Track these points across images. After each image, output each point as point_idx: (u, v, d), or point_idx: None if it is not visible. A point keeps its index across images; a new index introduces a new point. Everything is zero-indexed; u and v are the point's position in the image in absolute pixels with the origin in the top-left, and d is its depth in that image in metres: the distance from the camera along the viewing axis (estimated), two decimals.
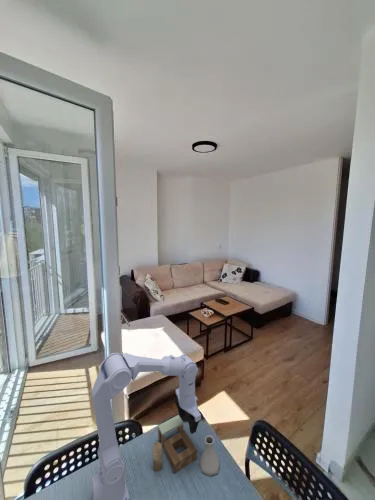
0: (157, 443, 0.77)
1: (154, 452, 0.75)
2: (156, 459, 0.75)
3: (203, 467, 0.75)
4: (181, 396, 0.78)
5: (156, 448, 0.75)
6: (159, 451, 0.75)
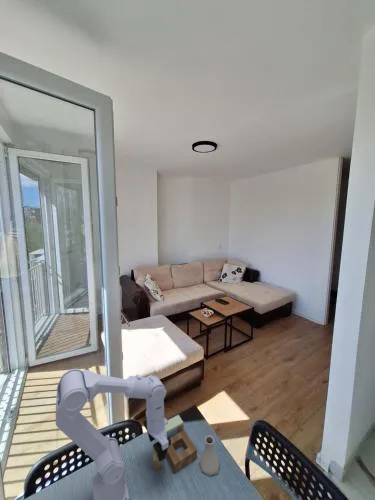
0: None
1: (154, 452, 0.75)
2: (156, 459, 0.75)
3: (203, 467, 0.75)
4: (148, 421, 0.72)
5: None
6: None
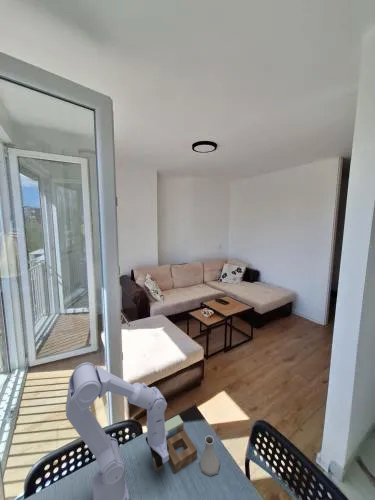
0: None
1: None
2: None
3: (203, 467, 0.75)
4: (149, 433, 0.73)
5: None
6: None
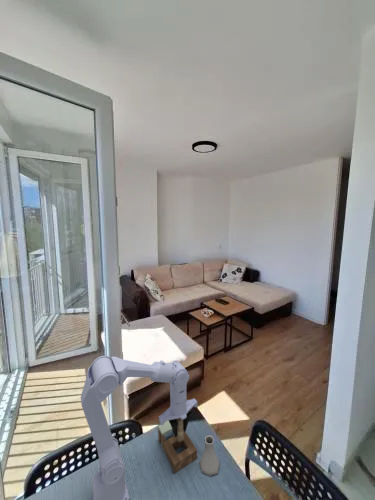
0: None
1: None
2: None
3: (203, 467, 0.75)
4: None
5: None
6: None
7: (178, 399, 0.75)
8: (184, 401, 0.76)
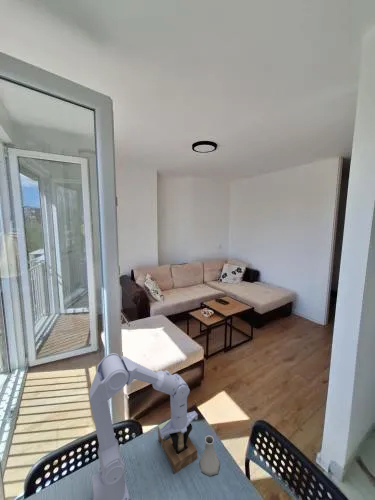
0: None
1: None
2: None
3: (203, 467, 0.75)
4: None
5: None
6: None
7: (178, 413, 0.75)
8: (184, 414, 0.77)
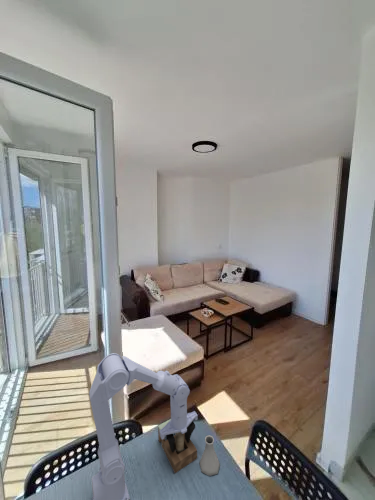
0: (182, 434, 0.80)
1: None
2: None
3: (203, 467, 0.75)
4: None
5: (178, 434, 0.80)
6: (176, 439, 0.79)
7: (178, 413, 0.75)
8: (184, 415, 0.77)
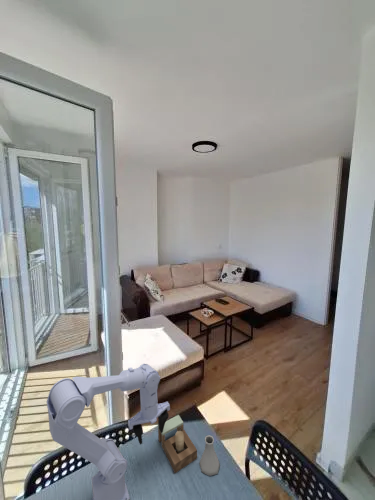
0: (182, 434, 0.80)
1: None
2: None
3: (203, 467, 0.75)
4: None
5: (178, 434, 0.80)
6: (176, 439, 0.79)
7: (149, 402, 0.73)
8: (154, 405, 0.74)
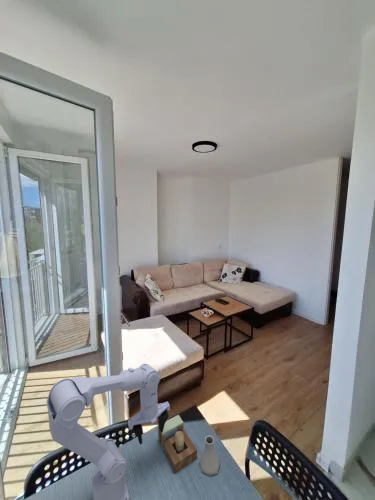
0: (182, 434, 0.80)
1: None
2: (175, 442, 0.80)
3: (203, 467, 0.75)
4: None
5: (178, 434, 0.80)
6: (176, 439, 0.79)
7: (149, 402, 0.73)
8: (154, 405, 0.74)
